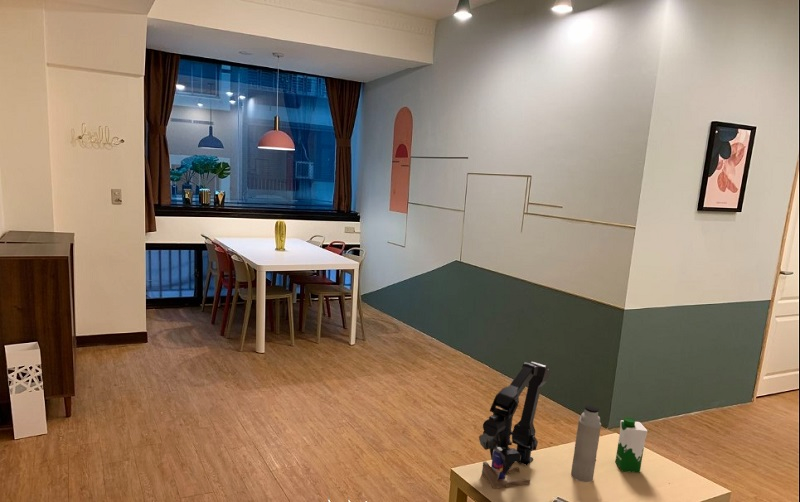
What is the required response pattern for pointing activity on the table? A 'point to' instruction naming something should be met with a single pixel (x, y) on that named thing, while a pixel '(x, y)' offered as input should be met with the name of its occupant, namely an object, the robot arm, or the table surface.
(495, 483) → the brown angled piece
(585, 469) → the thermos bottle
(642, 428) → the milk carton
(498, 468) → the energy drink
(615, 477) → the table surface
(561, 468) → the table surface
